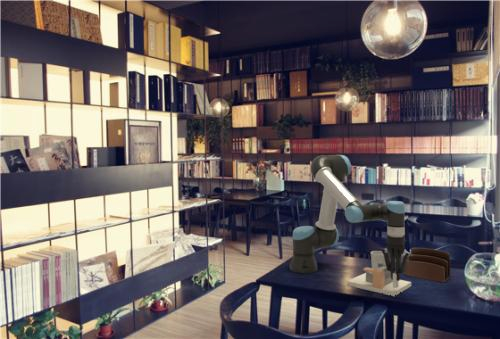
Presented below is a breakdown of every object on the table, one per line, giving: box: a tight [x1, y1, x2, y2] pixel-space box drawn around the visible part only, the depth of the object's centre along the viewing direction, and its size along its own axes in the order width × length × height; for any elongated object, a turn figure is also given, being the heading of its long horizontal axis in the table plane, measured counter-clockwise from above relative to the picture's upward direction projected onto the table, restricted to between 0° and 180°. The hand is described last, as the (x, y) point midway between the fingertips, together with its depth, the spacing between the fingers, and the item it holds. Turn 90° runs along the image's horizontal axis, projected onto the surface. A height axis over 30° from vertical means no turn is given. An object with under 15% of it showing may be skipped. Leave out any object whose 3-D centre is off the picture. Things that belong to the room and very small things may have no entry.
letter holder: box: [404, 247, 451, 283], centre depth 223 cm, size 10×20×14 cm, turn 49°
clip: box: [362, 266, 385, 289], centre depth 203 cm, size 9×4×8 cm, turn 47°
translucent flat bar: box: [369, 265, 387, 274], centre depth 209 cm, size 4×16×1 cm, turn 137°
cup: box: [370, 250, 386, 269], centre depth 226 cm, size 8×8×12 cm
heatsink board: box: [346, 263, 412, 297], centre depth 209 cm, size 24×19×9 cm
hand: (395, 287), depth 196 cm, fingers closed
